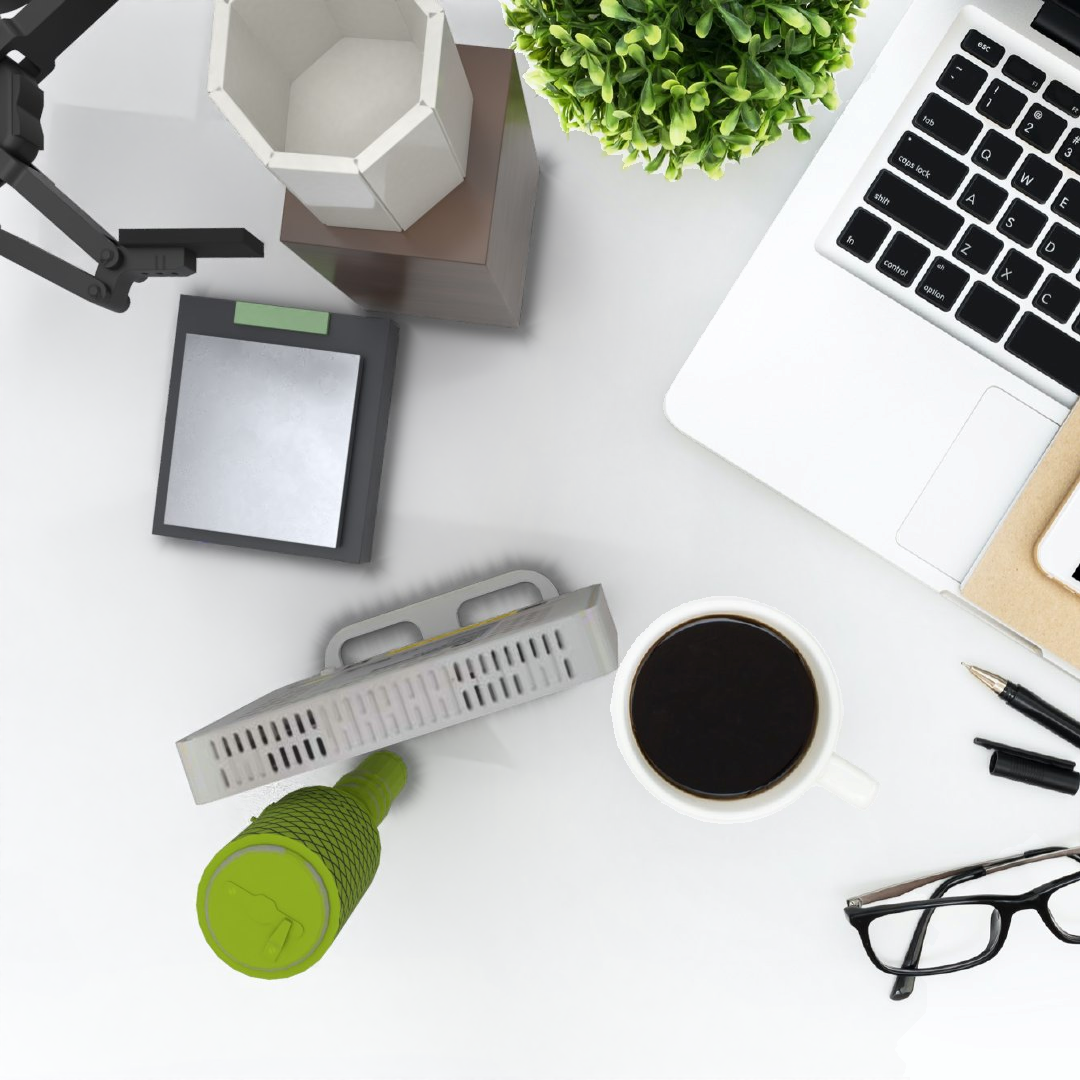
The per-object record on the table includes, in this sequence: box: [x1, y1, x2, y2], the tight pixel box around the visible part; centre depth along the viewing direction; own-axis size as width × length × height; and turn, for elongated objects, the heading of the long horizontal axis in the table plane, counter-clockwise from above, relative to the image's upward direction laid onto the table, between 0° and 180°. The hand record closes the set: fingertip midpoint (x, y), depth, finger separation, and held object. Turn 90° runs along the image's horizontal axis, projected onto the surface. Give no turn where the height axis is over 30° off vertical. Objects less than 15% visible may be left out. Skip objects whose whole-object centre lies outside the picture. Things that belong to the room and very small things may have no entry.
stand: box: [279, 43, 541, 329], centre depth 61 cm, size 12×12×18 cm
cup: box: [206, 0, 473, 232], centre depth 48 cm, size 11×11×9 cm
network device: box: [174, 569, 619, 806], centre depth 61 cm, size 26×9×20 cm, turn 109°
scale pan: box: [164, 333, 364, 548], centre depth 68 cm, size 14×13×1 cm
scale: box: [151, 293, 401, 565], centre depth 70 cm, size 18×16×3 cm
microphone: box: [195, 750, 408, 981], centre depth 59 cm, size 8×8×25 cm
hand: (256, 108), depth 48 cm, fingers open, 13 cm apart
